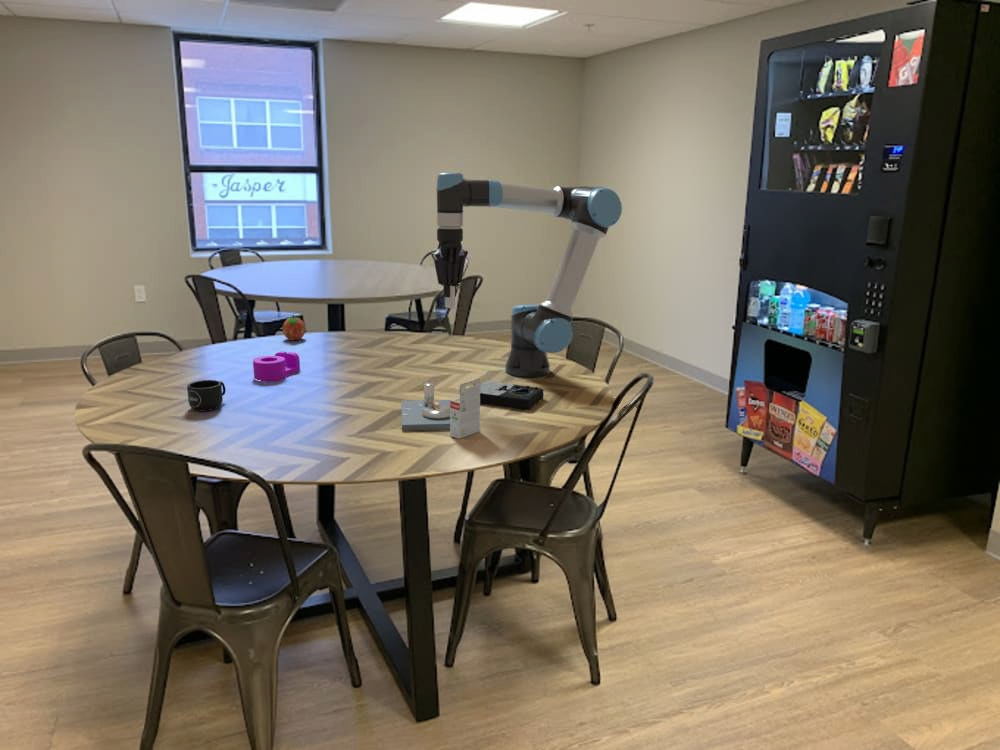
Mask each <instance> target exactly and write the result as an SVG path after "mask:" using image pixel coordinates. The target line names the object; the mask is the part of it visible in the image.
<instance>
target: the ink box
mask: <svg viewBox="0 0 1000 750" xmlns="http://www.w3.org/2000/svg"><path fill="white" fill-rule="evenodd" d="M470 385H473V386H470ZM480 385H481V379H480V378H477V379H474V380H472V381H468V382H465V383H460V384H459V397H457V398H454V399H450V400H451V401H450V429H449V436H450V437H452V438H456V440H457V439H458V440H460V439H464V438H467V437H469V436H472V435H474V434H476V433H479V432H481V431H480V429H481V426H480V425H481V423H480V422H481V420H480V419H481V418H480V417H481V404H480ZM467 386H470V387H467Z"/></svg>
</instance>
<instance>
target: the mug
mask: <svg viewBox="0 0 1000 750" xmlns="http://www.w3.org/2000/svg"><path fill="white" fill-rule="evenodd" d="M186 389H187V400H188V401H187V402H188V405H189V407H190V408H191V409H193V410H194V411H195V410H196V411H198V410H210V409H214V410H215V408H216V409H218V408H219V407H221V406H222V404H223V400H224V399H223V398H224V397H223V396H225V394H226V386H225V383H224V382H223V381H219V380H216V379H215V380H214V379H204V380H203V379H201V380H196V381H193V382H190V383H188V384H187V385H186ZM210 411H211V410H210Z"/></svg>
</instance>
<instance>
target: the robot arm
mask: <svg viewBox="0 0 1000 750" xmlns="http://www.w3.org/2000/svg"><path fill="white" fill-rule="evenodd" d="M436 178H437V179H436V189H435V190H436V208H437V209H436V210H437V211H436V226H437V227H438V228H437V229H436V240H437V241H438V245H437V250H436V251H435V252H432V253H431V257H432V260H433V263H434V268H435V273H436V278H437V279H436V280H437V284H438V285H441V286H442V287H443V296H444V307H445V308H447V309H455V308H456V297H457V287H459V286H460V284H462V281H463V276H464V270H465V263H466V258H467V256H468V254H469V251H468V250H465V249H464V248H463V244H462V242H463V239H464V229H463V228H462V227H463V226H464V222H463V221H464V207H467V208H468V207H479V208H481V207H488V208H498V209H499V208H500V209H508V210H517V211H518V210H519V211H527V212H535V213H547V214H550V216H552V217H554V218H561V219H565V220H569V221H571V222H570V224H571V226H572V229H573V230H572V232H571V235H570V237H569V240H568V243H567V244H566V245H567V246H566V248H565V251H564V253H563V256H562V258H561V261H560V264H559V266H558V269H557V271H556V273H555V276H554V278H553V282H552V284H551V287H550V289H549V291H548V295H547V297H546V299H545V301H543V302H540V303H537V304H517V305H514V306H513V307H512V310H511V316H510V318H511V325H510V326H511V327H510V328H511V332H510V334H511V335H510V351H509V353H508V357H507V360H506V362H505V369H504V370H505V373H507V374H509V375H511V376H515V377H520V378H521V377H524V378H536V376H538V377H543V376H542V375H544V376H547V375H548V373H549V374H550V370H551V368H550V367H551V365H550V362H549V361H550V360H549V358H548V355H547V353H548V354H549V353H550V354H555V353H559V352H561V351H564V350H565V349H567V347H568V346H569V345H570V343H571V342H572V339H573V335H574V334H573V333H574V332H573V329H572V328H573V326H572V325H571V324H572V322H573V319H574V315H573V312H572V308H573V306H574V303H575V301H576V298H577V296H578V293H579V291H580V288H581V285H582V284H583V282H584V277H585V276H586V274H587V271H588V269H589V266H590V262H591V260H592V258H593V255H594V253H595V250H596V247H597V245H598V243H599V241H600V239H602V238H604V237H606V235H607V233H608V230H609V228H610V227H613V226H614V225H616V223H618V221H619V220H620V218H621V215H622V212H623V211H622V209H623V208H622V207H623V205H622V201H621V199H620V196H619V195H618V194H617V192H615V191H614V190H613V189H610V188H607V187H603V186H584V185H583V186H571V187H570V186H555V187H553V188H543V187H539V186H537V187H535V186H529V185H528V186H527V185H518V184H510V183H501V182H500V181H498V180H492V179H470V178H469V179H468V178H464V175H463V173H460V172H439V173H438V174H437V177H436ZM546 374H547V375H546ZM533 376H534V377H533Z"/></svg>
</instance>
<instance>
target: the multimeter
mask: <svg viewBox="0 0 1000 750" xmlns="http://www.w3.org/2000/svg"><path fill="white" fill-rule="evenodd" d="M542 399H544V389H543V388H541V387H538V386H530V385H525V386H524V385H519V384H513V383H504V382H497V381H489V380H488V381H485V382H483V383H482V384H481V383H480V405H486V406H492V407H499V408H506V409H512V410H518V409H519V410H520V411H525V410H529V411H530V410H531V409H533V408H534V407H535V406H536V405H538V404H539V403H540V402H541V401H543V400H542ZM540 400H541V401H540ZM539 401H540V402H539ZM538 402H539V403H538ZM537 403H538V404H537ZM535 404H536V405H535ZM534 405H535V406H534ZM533 406H534V407H533ZM532 407H533V408H532Z"/></svg>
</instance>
